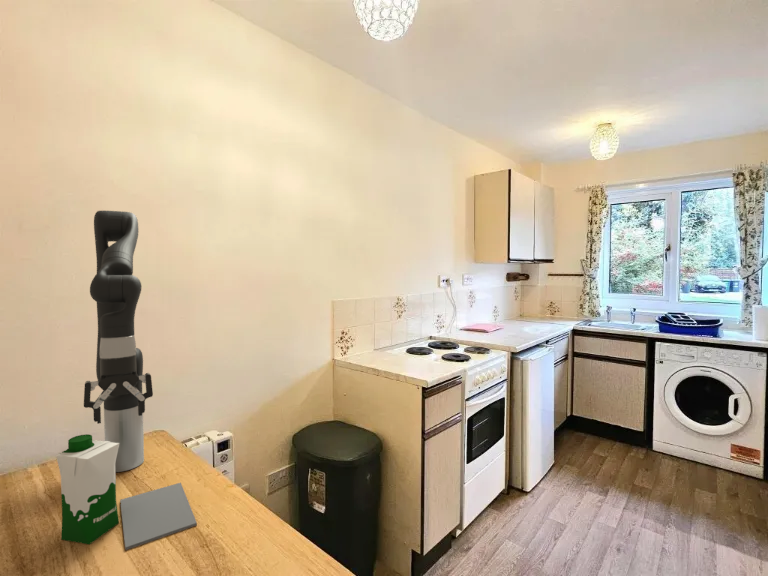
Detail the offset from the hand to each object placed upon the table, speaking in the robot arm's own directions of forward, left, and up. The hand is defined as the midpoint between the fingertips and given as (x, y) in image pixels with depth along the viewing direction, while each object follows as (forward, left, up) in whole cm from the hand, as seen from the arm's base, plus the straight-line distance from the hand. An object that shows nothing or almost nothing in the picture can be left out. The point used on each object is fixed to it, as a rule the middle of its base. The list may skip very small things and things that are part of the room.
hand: (120, 418), depth 98 cm
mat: (+16, +6, -18) cm, 25 cm away
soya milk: (+15, -6, -19) cm, 25 cm away
